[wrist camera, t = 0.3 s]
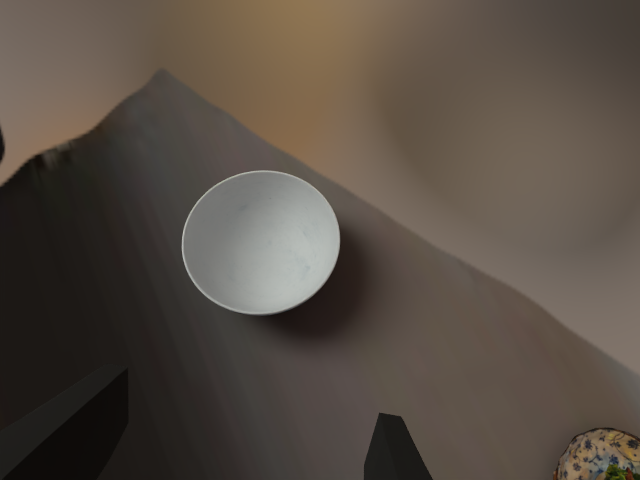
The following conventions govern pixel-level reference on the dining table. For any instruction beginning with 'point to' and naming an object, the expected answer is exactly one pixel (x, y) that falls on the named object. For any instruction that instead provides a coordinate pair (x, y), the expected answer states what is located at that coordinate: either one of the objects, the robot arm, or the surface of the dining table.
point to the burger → (600, 456)
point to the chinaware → (261, 242)
